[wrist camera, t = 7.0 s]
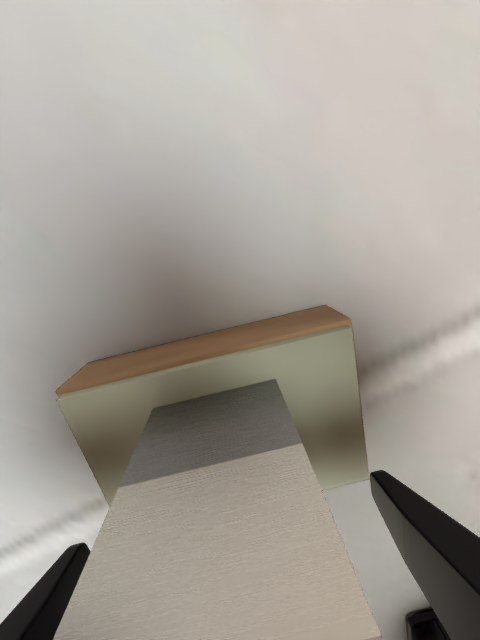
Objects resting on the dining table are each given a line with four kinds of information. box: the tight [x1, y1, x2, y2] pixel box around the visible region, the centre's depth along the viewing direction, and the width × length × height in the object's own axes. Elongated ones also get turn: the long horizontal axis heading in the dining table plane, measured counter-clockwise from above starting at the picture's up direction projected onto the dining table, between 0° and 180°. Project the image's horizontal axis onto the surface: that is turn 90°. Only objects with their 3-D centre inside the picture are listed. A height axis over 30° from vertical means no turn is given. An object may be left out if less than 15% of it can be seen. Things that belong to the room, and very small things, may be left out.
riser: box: [56, 305, 369, 506], centre depth 12 cm, size 8×12×3 cm, turn 103°
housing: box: [53, 379, 382, 640], centre depth 7 cm, size 5×5×7 cm
